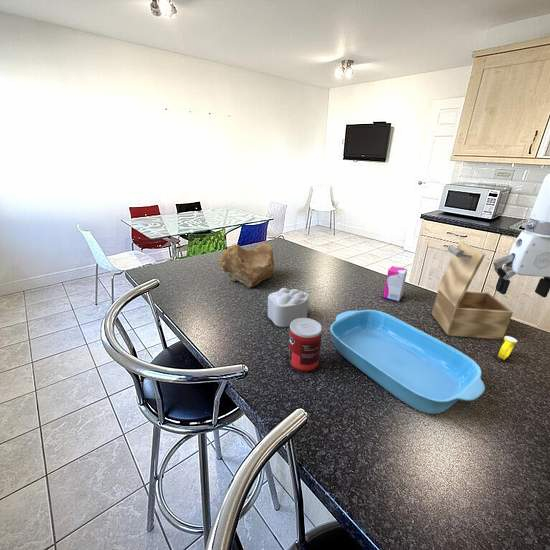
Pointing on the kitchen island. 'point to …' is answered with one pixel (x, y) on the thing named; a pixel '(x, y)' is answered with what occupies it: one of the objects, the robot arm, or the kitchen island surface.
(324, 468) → the kitchen island surface
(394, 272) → the supplement box
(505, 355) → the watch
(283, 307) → the lumpy-topped squat cylinder
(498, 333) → the chest
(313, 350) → the canned food
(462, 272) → the lid
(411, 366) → the casserole dish
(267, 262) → the jagged tan rock
